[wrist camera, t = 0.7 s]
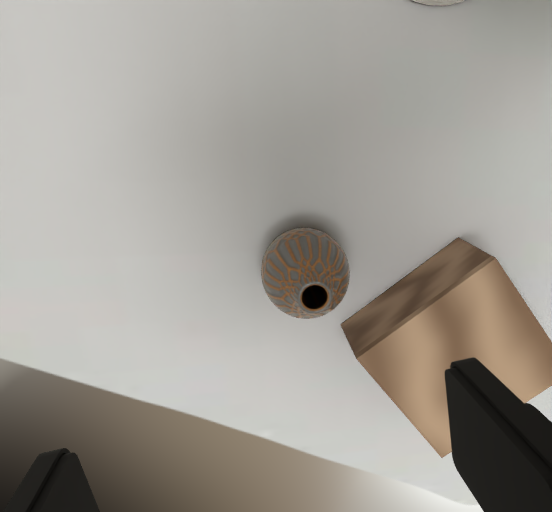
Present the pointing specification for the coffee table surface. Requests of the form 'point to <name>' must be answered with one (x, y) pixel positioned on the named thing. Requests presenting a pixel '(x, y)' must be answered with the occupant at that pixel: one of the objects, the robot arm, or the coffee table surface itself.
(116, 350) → the coffee table surface
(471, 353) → the walnut box
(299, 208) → the coffee table surface
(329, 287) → the vase
